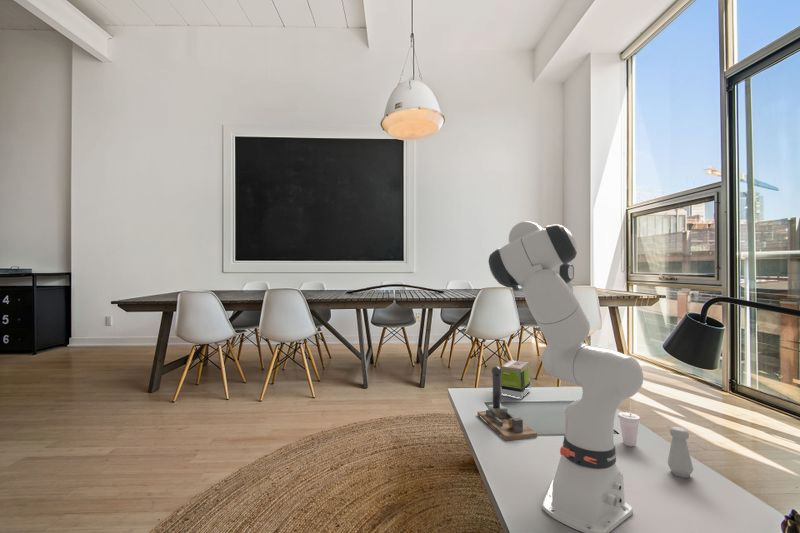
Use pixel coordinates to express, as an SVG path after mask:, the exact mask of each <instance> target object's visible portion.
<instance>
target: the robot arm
mask: <svg viewBox="0 0 800 533" xmlns="http://www.w3.org/2000/svg"><path fill="white" fill-rule="evenodd" d="M577 254H578V252H577V241H576V239H575V237H574V234H573V233H572V232H571V231H570V230H568V228H566V227H565V226H564V225H561V224H551V225H546V226H545V227H542V226H541V225H539V224H538V223H536V222H533V221H529V220H526V221H525V220H524V221H521V222H518V223H516V224H515V225H514V226H512V227H511V229H510V231H509V235H508V243H507V244H505V245H504V246H502V247H498V248H496V249H495V250H494V251H492V253H491V254H490V255H489V257H488V265H489V271H490V273H491V275H492V276H493V278H494V279H495V280H496V281H497V282H498V284H499V285H501V286H503V287H506V288H510V289H512V290H513V291H519V290H520V288H519V286H520V287H521V288H522V293H523V296H524V299H525V302H526V304H527V306H528V310H529V311H530V313H531V315H532V318H533V319H534V320H535V322H536V324H537V326H538V328H539V330H540V331H541V333H542V335H543V337H544V339H545V341H546V343H547V345H545V347H544V349H543V351H542V354H541V364H542V367H543V369H544V371H545V372H546V373H547V374H549V375H551V376H552V377H554V378H555V379H558V380H559V381H562V382H563V383H568V384H571V385H573V386H577V387H581V388H582V394H581V395H582V396H581V397H580V399H578V400H574V401H572V402H570V403H568V405H567V406H566V409H565V412H564V413H565V416H564V417H565V419H564V421H565V423H564V424H565V425H564V426H565V427H564V428H565V435H564V436H563V441H562V446H561V447H560V448H559V449H560V450H559V453H560V459H559V462H558V464H557V466H556V467H557V468H556V471H555V474H554V477H553V478H552V480H551V482H550V485H549V487H548V490H547V492H546V494H545V497H544V499H543V501H542V506H541V509H542V510H543V511H544V512H545V513H546V514H547V515H548V516H550V517H552V519H554V520H556V521H558V522H560V523H562V524H564V525H566V526H567V527H570V528H572V529H574V530H576V531H579V532H581V533H610V532H612V531H613V530H614V529H615V528H617V527H618V526H620V524H622V523H623V522H625V521H626V520H627V519H628V518H629V517H630V516H632V515H633V514H634V510H633V507H632V506H631V505H630V504H628V503H627V502H626V495H625V483H624V482H625V481H624V474H623V473H622V472H621V470H620V468H619V467H618V466H617V464H616V462H617V451H616V449H617V448H616V445H615V443H614V433H615V432H614V426H615V416H616V414H617V411H618V408H619V406H620V405H621V404H622V403H623V402H624V401H626V400H628V399H629V398H631V397H633V396H635V395H636V394H637V393H638V392H640V391H641V388H642V386H643V383H644V372H643V369H642V367H641V365H640V363H639V361H638V360H637V359H636V358H634V357H632V356H630V355H628V354H625V353H624V352H623V353H622V352H620V351H617V350H614V349H609V348H608V349H607V348H602V347H597V346H593V345H590V344H587V343H586V342H585V340H587V338H588V336H589V334H590V330H591V325H590V321H589V319H588V317H587V315H586V314H585V311H584V310H583V308H582V307H581V305H580V303H579V300H578V299H577V298H576V296H575V294H574V284H573V279H574V276H575V271H574V270H575V266H574V265H573V260H575V258H576V257H577Z"/></svg>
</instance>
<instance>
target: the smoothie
mask: <svg viewBox="0 0 800 533" xmlns="http://www.w3.org/2000/svg"><path fill="white" fill-rule="evenodd" d="M632 410H633V409H632V402H629V411H628V412H627V411H619V412H618V413H617V417H618V420H619V423H620V430H621V437H622V443H623V445H625V446H627V445H628V447H632V446H634V447H636V446H637V439H638V432H639V425H640V422H641V417H640V416H639V414H636V413H633V412H632Z"/></svg>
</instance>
